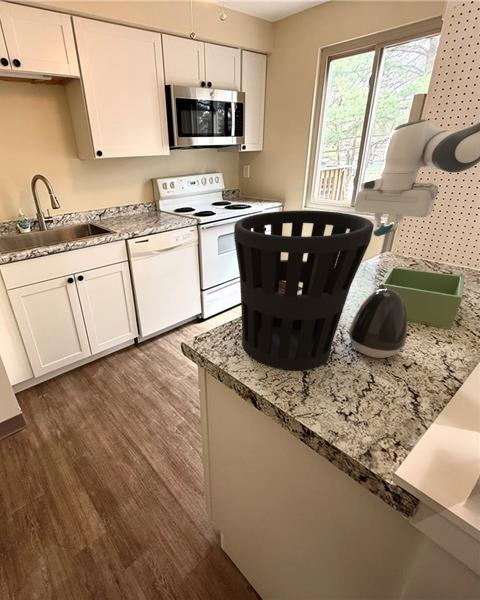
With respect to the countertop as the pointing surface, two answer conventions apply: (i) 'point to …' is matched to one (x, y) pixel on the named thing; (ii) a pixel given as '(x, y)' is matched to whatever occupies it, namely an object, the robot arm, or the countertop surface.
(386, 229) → the teal rounded rod
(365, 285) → the countertop surface
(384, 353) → the dark brown egg shape
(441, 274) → the bin
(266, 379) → the countertop surface
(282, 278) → the wastebasket
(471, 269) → the countertop surface
